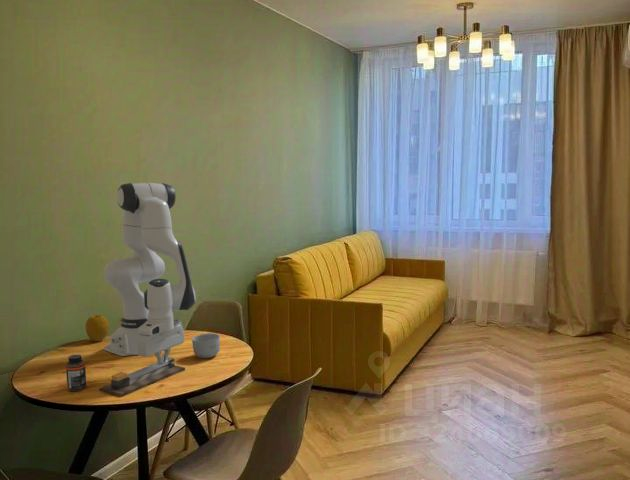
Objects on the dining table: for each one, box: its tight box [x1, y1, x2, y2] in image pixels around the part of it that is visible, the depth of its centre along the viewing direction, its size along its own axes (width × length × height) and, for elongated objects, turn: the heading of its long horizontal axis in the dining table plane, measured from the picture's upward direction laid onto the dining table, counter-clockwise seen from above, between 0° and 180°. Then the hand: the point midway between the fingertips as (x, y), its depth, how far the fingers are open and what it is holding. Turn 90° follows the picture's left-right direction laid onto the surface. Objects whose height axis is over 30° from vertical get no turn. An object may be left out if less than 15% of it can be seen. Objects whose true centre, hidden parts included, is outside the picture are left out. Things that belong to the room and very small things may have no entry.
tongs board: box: [98, 362, 186, 398], centre depth 192 cm, size 29×11×4 cm, turn 150°
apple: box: [85, 314, 110, 343], centre depth 243 cm, size 10×10×12 cm
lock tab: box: [111, 371, 128, 381], centre depth 183 cm, size 4×3×1 cm
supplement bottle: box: [65, 354, 87, 392], centre depth 185 cm, size 6×6×11 cm
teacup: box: [191, 332, 221, 359], centre depth 220 cm, size 14×11×8 cm
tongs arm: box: [127, 356, 175, 381], centre depth 195 cm, size 21×3×1 cm, turn 150°
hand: (162, 361), depth 200 cm, fingers closed, pressing on tongs arm
